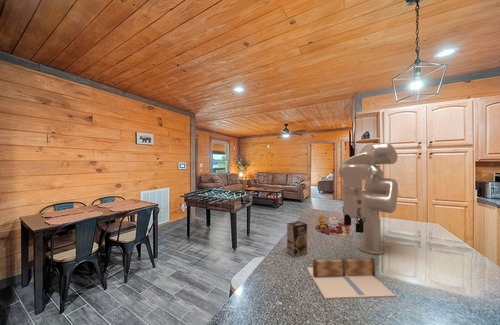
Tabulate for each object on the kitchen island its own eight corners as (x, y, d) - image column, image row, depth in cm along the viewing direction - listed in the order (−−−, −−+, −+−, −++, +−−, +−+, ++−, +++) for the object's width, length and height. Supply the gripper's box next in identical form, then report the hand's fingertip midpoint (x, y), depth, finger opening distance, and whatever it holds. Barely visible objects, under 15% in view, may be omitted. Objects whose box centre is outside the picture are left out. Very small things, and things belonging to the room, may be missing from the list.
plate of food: (316, 234, 131) (315, 220, 131) (314, 223, 153) (314, 212, 153) (356, 237, 124) (356, 223, 124) (348, 226, 146) (348, 214, 146)
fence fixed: (344, 274, 82) (344, 258, 82) (346, 276, 80) (346, 260, 80) (312, 275, 81) (312, 259, 81) (313, 277, 80) (313, 261, 80)
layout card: (361, 266, 88) (361, 265, 88) (395, 296, 68) (395, 295, 68) (306, 268, 87) (306, 267, 87) (325, 299, 67) (324, 297, 67)
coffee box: (294, 257, 97) (294, 226, 98) (286, 252, 103) (286, 223, 103) (307, 253, 102) (307, 223, 102) (299, 249, 107) (299, 220, 108)
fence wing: (347, 276, 80) (347, 260, 80) (346, 274, 82) (345, 258, 82) (375, 275, 81) (375, 259, 81) (373, 273, 82) (373, 257, 82)
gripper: (373, 194, 79) (374, 235, 78) (350, 188, 96) (350, 222, 96) (355, 194, 79) (356, 235, 78) (335, 189, 96) (336, 222, 96)
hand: (353, 228), depth 87 cm, fingers open, 9 cm apart
